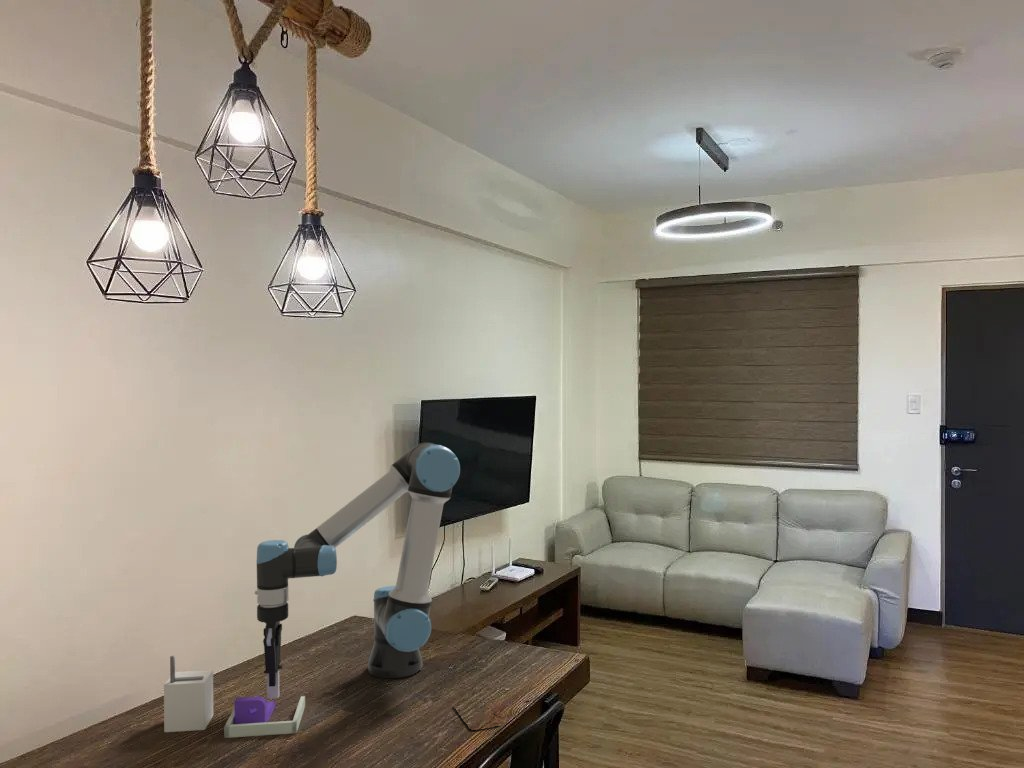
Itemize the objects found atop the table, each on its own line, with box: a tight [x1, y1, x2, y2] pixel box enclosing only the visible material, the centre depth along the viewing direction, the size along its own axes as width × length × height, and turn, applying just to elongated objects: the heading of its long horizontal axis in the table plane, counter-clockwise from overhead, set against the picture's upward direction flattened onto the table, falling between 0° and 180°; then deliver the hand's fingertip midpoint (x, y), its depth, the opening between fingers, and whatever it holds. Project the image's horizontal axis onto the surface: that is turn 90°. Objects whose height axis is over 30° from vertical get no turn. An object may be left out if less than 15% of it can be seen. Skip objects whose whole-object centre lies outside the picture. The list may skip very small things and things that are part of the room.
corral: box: [223, 695, 306, 739], centre depth 183 cm, size 16×15×2 cm
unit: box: [163, 655, 214, 733], centre depth 183 cm, size 9×8×17 cm
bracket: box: [234, 696, 276, 724], centre depth 186 cm, size 12×7×7 cm, turn 6°
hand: (273, 697), depth 193 cm, fingers closed
